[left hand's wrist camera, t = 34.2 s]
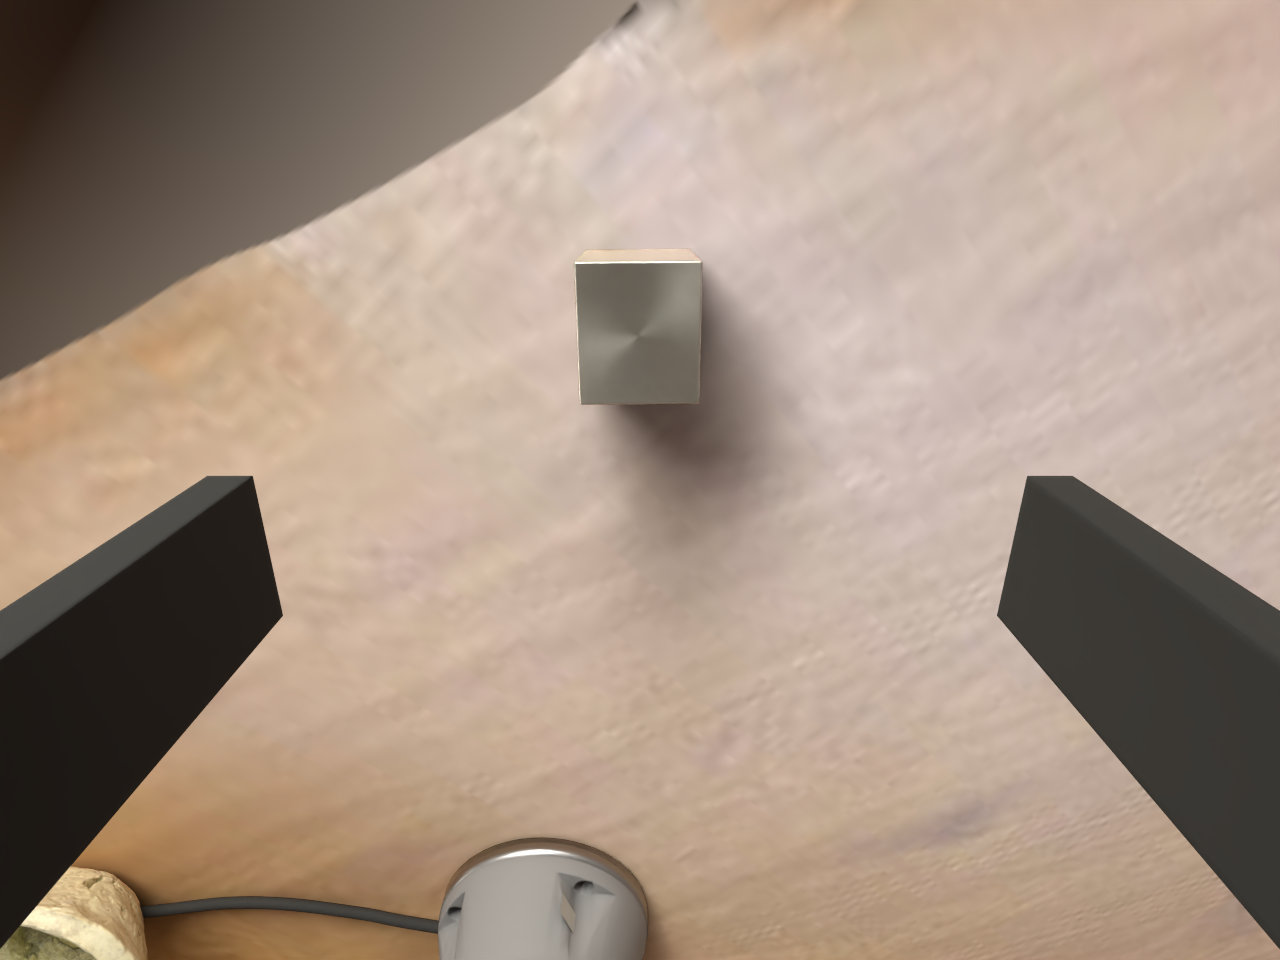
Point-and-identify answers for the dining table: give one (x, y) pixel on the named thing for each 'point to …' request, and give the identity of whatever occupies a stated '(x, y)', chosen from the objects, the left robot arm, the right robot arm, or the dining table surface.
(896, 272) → the dining table surface
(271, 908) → the left robot arm
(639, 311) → the block
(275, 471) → the dining table surface
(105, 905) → the bowl
